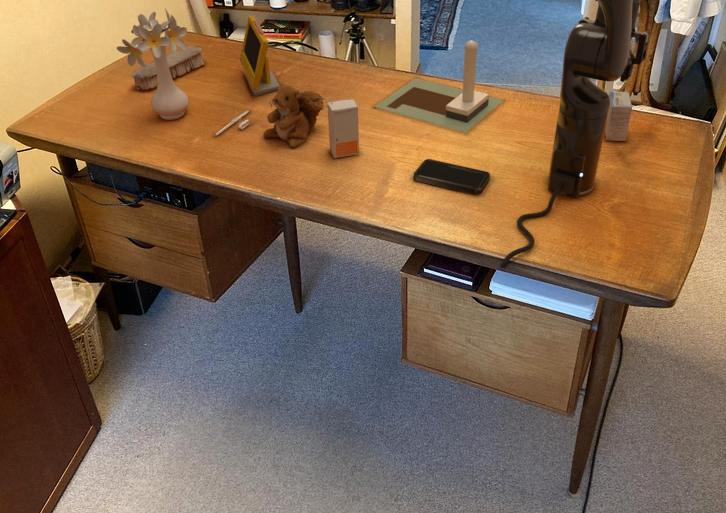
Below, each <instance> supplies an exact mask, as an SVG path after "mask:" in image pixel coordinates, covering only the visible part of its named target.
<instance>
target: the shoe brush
mask: <svg viewBox="0 0 726 513" xmlns="http://www.w3.org/2000/svg"><path fill="white" fill-rule="evenodd" d="M202 52H203V49H202V48H201V46H199V45H196V46H195V45H189V46H187V49H186V50H183V49H182V48H179V49H176V52H172V51H171V52H169V53H166V57H167V62H168V66H169V70H170V74H171V77H172V79H176V78H177V77H181V76H182V75H185V74H186V73H189V72H191V69H192V70H194V69H198V68H200V67H202V66H204V65H205V60H204V58H203V55H202V54H201V53H202ZM131 78H133V79H134V80H133V81H134V86H135V88H136V90H137V91H138V90H142V91H146V90H147V91H148V90H149V89H154V88H157V86H158V78H157V71H156V66H155V61H154V60H152V61H150V62H148V63H145V67H142V66H140V67H139V68H137V69H135V70H134V71H133V72H132V73H131Z"/></svg>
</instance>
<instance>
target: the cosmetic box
mask: <svg viewBox="0 0 726 513" xmlns="http://www.w3.org/2000/svg"><path fill="white" fill-rule="evenodd" d="M326 105H327V123H328V124H327V125H328V141H329V151H330V153H331V155H332V156H333V159H337V158H338V159H339V158H344V157H350V156H351V157H352V156H356V155H357V156H358V155H360V142H359V141H360V138H359V136H360V135H359V134H360V131H359V105H357V103H356V101H355V99H354V98H351V99H343V100H342V99H341V100H337V101H331V102H327V103H326Z"/></svg>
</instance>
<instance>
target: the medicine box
mask: <svg viewBox="0 0 726 513" xmlns="http://www.w3.org/2000/svg"><path fill="white" fill-rule="evenodd" d="M608 95H609V97H610V107H609V112H608V117H607V122H606V127H605V132H604V136H605V140H606V141H610V142H626V140H627V137H628V130H629V126H630V121H631V116H632V112H633V105H632V100H631V94H630V92H628V91H609V93H608Z"/></svg>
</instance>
